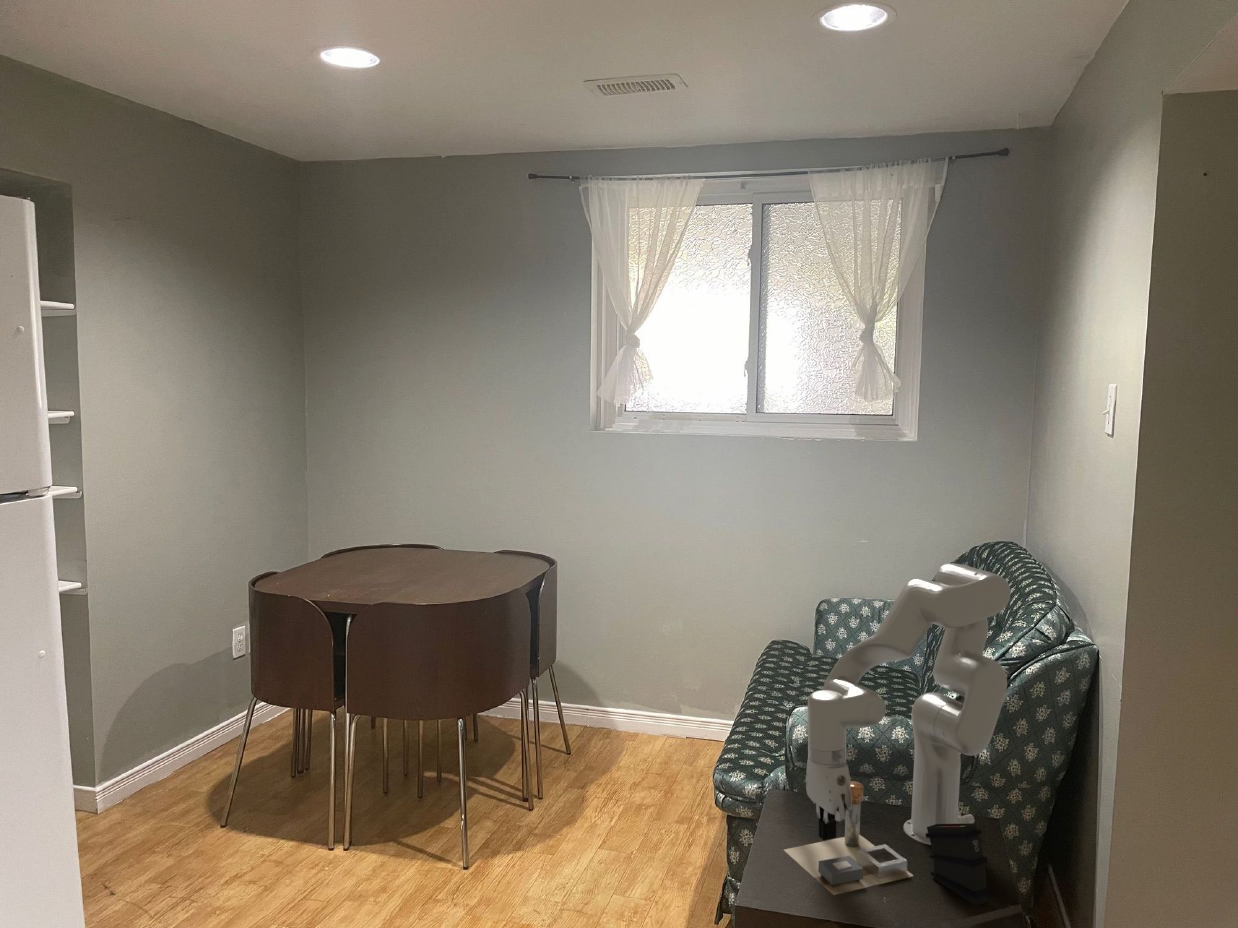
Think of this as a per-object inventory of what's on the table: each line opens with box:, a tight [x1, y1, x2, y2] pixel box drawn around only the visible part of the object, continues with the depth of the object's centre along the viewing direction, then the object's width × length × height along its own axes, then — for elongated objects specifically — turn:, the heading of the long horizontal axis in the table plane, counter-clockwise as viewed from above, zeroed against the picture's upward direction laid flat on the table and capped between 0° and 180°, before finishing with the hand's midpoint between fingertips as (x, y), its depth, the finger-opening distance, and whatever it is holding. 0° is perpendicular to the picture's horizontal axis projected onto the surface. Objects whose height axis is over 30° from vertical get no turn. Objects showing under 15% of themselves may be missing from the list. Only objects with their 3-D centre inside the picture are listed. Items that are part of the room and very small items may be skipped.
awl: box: [844, 780, 864, 847], centre depth 200 cm, size 4×4×13 cm
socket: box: [857, 844, 908, 879], centre depth 191 cm, size 7×7×2 cm
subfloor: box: [783, 833, 914, 896], centre depth 193 cm, size 19×18×1 cm
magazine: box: [925, 822, 991, 906], centre depth 184 cm, size 4×13×15 cm, turn 27°
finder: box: [818, 856, 863, 887], centre depth 187 cm, size 7×5×3 cm
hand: (827, 837), depth 194 cm, fingers closed
